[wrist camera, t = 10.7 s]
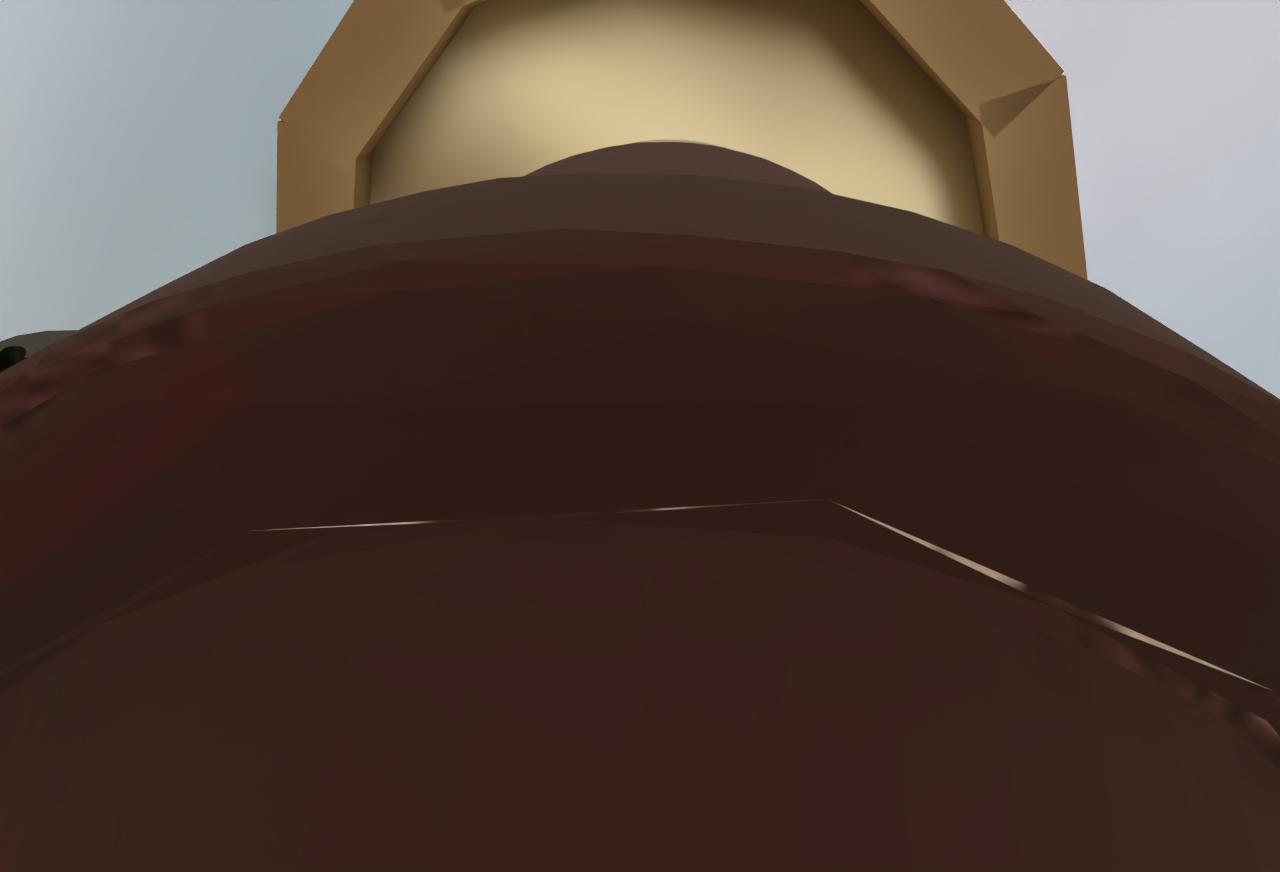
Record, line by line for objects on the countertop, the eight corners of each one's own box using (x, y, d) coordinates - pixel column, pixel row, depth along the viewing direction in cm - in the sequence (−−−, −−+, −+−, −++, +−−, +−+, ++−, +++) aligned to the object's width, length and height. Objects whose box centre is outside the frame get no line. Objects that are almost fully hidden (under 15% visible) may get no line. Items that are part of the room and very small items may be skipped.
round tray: (314, -255, 15) (268, -287, 13) (1202, -41, 16) (1261, -46, 14) (295, 520, 22) (265, 559, 21) (900, 639, 23) (916, 686, 21)
